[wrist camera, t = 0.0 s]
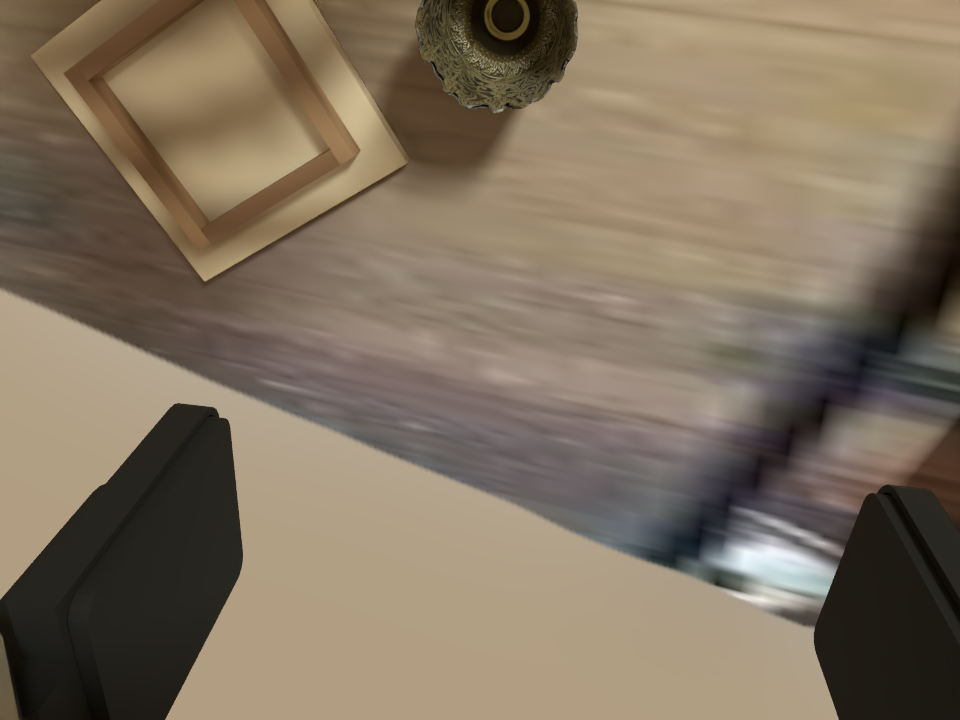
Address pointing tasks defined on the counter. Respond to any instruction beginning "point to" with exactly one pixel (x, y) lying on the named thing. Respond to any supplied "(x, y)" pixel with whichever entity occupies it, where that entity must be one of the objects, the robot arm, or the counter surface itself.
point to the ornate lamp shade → (497, 50)
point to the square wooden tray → (223, 116)
